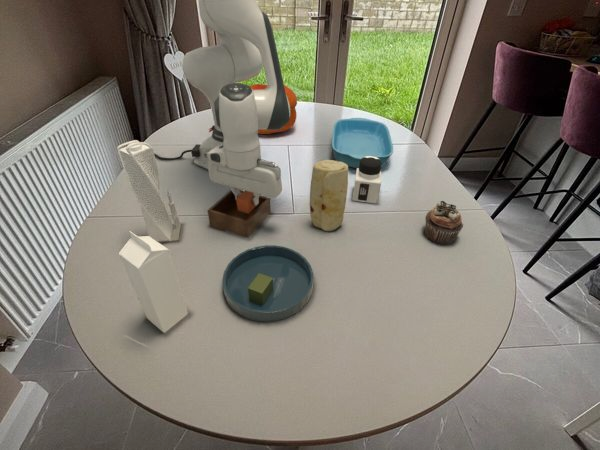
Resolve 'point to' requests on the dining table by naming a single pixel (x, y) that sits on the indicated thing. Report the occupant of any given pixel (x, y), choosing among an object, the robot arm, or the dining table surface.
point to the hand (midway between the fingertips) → (247, 201)
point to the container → (368, 180)
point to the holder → (238, 215)
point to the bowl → (286, 282)
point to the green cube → (260, 289)
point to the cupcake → (443, 223)
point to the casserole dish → (361, 141)
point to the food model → (328, 194)
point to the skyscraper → (149, 191)
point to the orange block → (245, 202)
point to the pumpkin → (293, 103)
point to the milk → (154, 280)
